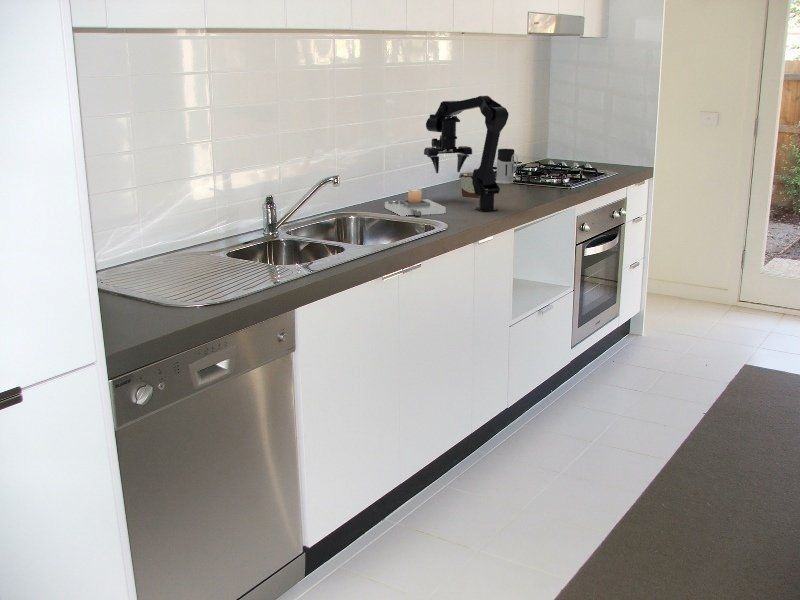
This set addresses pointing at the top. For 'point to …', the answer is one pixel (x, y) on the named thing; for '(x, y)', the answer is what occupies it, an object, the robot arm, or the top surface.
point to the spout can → (414, 196)
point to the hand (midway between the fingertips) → (447, 172)
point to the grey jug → (506, 166)
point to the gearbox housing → (414, 207)
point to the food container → (467, 186)
